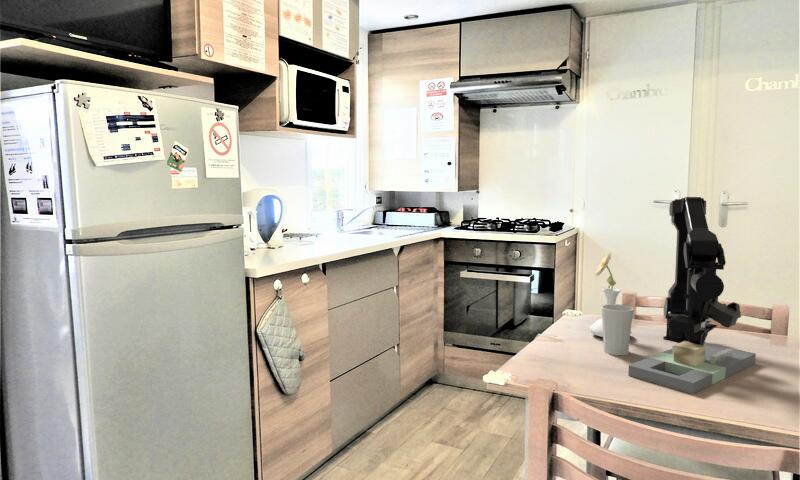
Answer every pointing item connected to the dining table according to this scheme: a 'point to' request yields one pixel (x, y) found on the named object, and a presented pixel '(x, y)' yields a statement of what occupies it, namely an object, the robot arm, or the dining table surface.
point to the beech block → (689, 353)
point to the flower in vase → (609, 292)
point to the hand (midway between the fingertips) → (697, 353)
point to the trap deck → (690, 369)
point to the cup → (616, 328)
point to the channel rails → (717, 355)
